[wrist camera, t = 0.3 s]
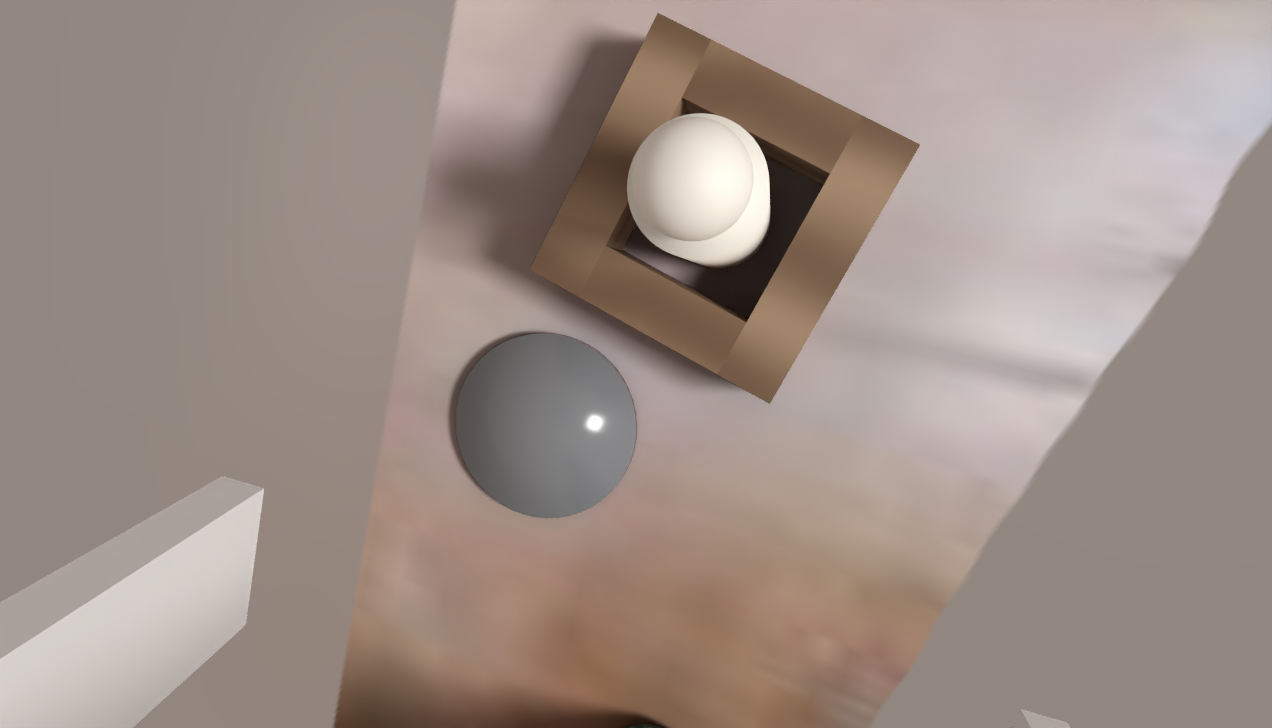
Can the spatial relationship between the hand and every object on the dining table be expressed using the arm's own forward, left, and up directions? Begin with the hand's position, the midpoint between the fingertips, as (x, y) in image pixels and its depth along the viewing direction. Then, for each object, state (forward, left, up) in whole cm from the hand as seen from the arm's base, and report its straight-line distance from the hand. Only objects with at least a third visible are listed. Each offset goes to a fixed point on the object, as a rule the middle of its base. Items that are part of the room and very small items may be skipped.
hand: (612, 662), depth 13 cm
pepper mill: (-9, -5, -27) cm, 29 cm away
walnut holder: (-9, -5, -27) cm, 29 cm away
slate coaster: (+5, -8, -27) cm, 28 cm away
